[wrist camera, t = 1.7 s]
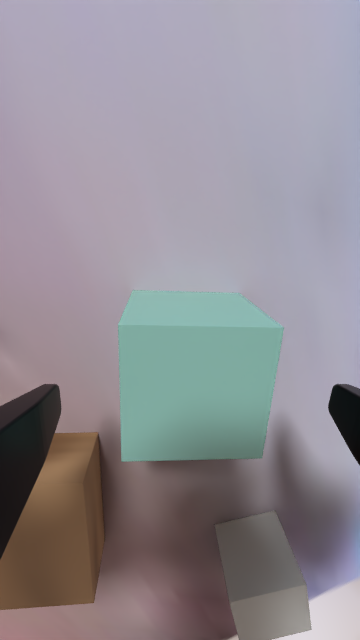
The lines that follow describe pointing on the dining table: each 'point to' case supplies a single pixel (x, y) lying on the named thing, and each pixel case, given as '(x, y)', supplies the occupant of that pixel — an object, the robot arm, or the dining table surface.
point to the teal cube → (195, 376)
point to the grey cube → (262, 578)
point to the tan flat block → (58, 530)
